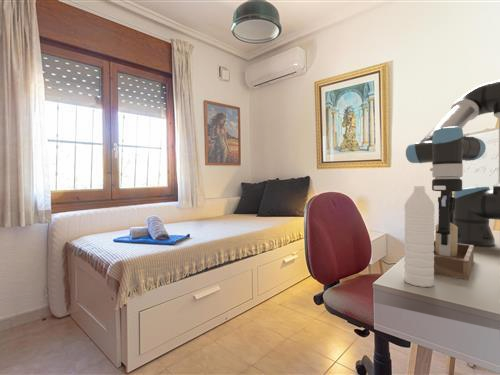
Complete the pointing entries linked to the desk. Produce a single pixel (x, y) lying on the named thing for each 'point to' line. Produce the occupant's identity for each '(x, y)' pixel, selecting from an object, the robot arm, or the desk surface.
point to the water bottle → (419, 238)
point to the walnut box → (455, 262)
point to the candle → (453, 240)
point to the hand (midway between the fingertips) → (446, 253)
